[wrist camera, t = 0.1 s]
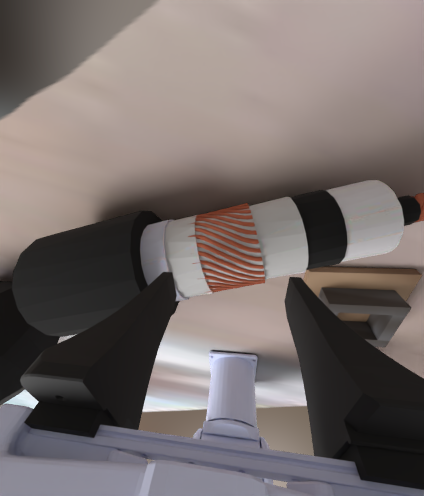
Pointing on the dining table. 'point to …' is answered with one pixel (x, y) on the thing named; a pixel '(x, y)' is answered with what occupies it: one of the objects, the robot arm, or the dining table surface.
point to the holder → (365, 298)
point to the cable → (203, 251)
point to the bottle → (17, 344)
